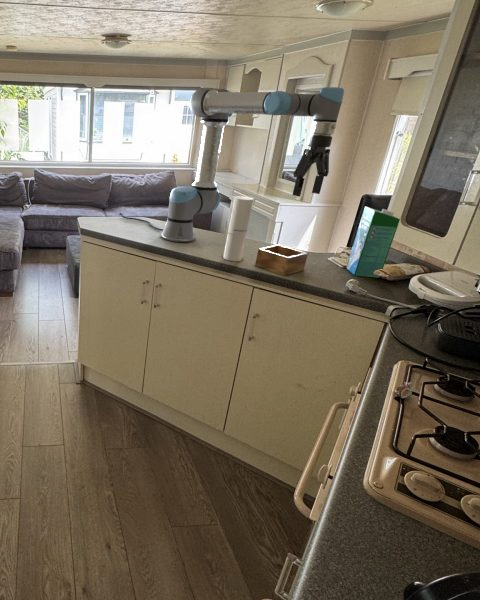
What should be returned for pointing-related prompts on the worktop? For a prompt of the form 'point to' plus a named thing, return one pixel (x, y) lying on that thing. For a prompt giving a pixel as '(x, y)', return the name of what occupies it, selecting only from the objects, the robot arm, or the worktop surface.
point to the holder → (281, 259)
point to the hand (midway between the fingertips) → (306, 194)
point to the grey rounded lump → (403, 390)
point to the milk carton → (372, 242)
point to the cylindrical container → (238, 228)
